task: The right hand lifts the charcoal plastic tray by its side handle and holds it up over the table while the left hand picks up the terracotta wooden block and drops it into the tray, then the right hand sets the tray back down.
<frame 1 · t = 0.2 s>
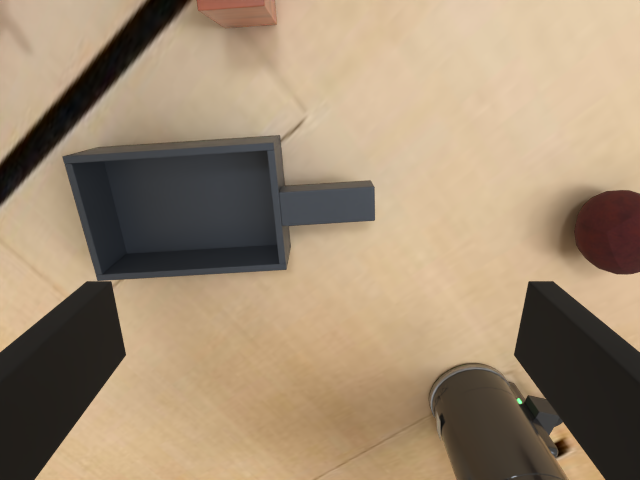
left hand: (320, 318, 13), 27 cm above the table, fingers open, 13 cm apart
dark maroon ball: (594, 218, 40), on the table
tray: (198, 199, 40), on the table
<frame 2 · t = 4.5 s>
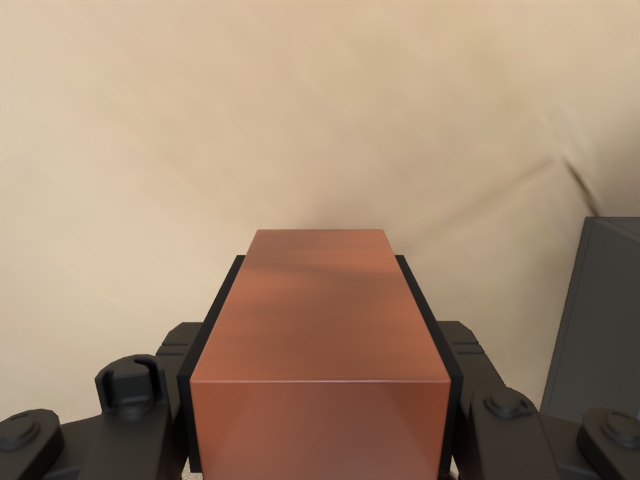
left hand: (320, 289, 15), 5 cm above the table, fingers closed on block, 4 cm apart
block: (320, 285, 15), point 4 cm above the table, touching left hand
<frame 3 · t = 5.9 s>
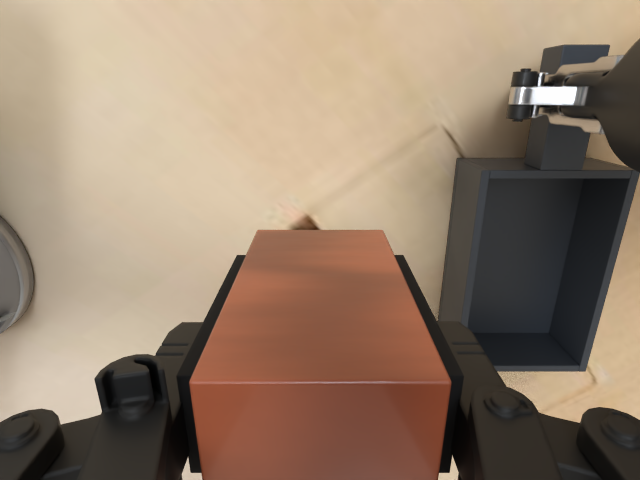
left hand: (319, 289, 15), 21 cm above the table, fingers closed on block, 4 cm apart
block: (320, 286, 15), point 20 cm above the table, touching left hand
tray: (507, 253, 37), on the table, touching right hand
when the left hand's fingers open (16 cm above the table, at t = 10.8 s): block drops 6 cm, resting on tray.
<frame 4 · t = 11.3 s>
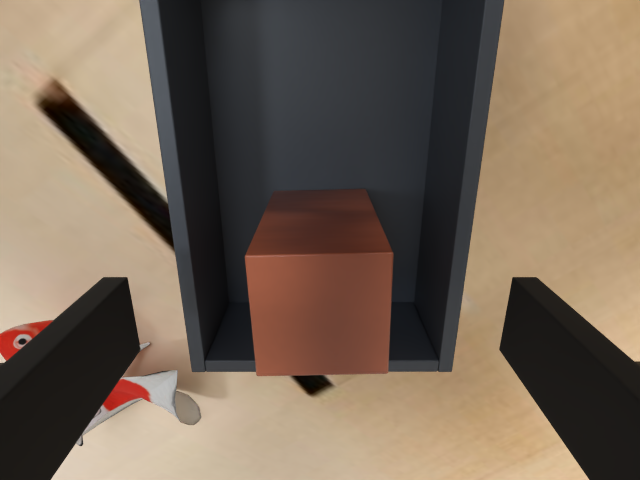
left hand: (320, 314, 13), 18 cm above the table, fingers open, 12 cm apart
fish: (135, 347, 35), on the table
block: (320, 233, 20), point 10 cm above the table, touching tray
tray: (321, 150, 19), point 10 cm above the table, touching block, right hand
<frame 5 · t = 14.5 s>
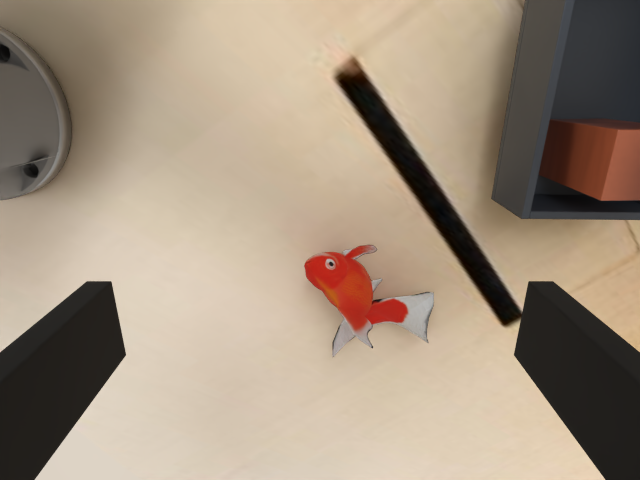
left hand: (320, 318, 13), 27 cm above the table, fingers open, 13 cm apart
fish: (367, 282, 42), on the table
block: (570, 147, 33), point 4 cm above the table, touching tray
tray: (579, 94, 32), point 4 cm above the table, touching block, right hand
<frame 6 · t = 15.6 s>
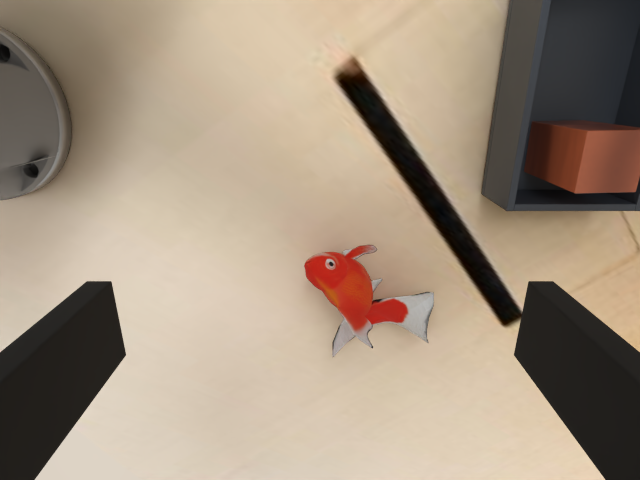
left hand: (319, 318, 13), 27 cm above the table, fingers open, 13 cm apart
fish: (367, 282, 42), on the table
block: (552, 146, 36), point 1 cm above the table, touching tray
tray: (558, 98, 35), on the table, touching block, right hand
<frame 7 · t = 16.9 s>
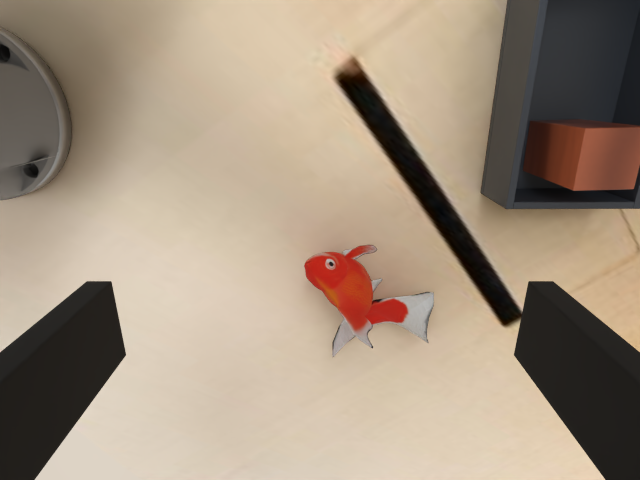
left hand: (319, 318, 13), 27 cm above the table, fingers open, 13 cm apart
fish: (367, 282, 42), on the table
block: (550, 145, 37), point 1 cm above the table, touching tray
tray: (556, 98, 36), on the table, touching block
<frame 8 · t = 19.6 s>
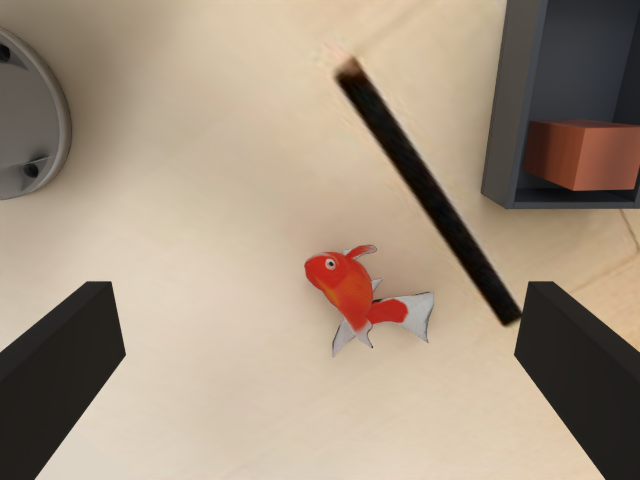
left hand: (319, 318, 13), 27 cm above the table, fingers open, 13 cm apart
fish: (367, 282, 42), on the table
block: (550, 145, 37), point 1 cm above the table, touching tray
tray: (556, 98, 36), on the table, touching block
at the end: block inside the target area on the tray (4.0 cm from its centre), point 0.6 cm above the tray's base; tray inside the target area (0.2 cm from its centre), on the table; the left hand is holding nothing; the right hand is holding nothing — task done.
